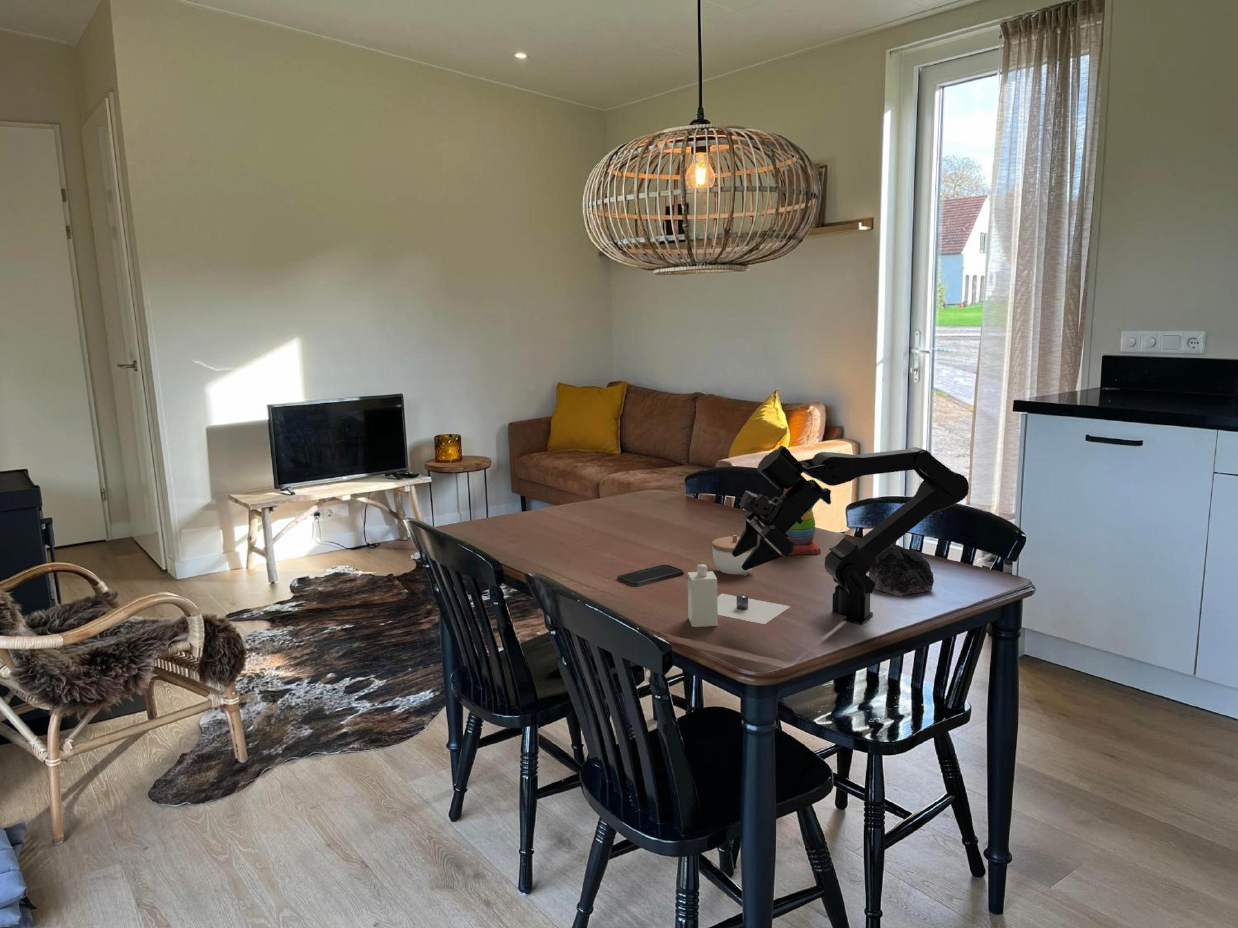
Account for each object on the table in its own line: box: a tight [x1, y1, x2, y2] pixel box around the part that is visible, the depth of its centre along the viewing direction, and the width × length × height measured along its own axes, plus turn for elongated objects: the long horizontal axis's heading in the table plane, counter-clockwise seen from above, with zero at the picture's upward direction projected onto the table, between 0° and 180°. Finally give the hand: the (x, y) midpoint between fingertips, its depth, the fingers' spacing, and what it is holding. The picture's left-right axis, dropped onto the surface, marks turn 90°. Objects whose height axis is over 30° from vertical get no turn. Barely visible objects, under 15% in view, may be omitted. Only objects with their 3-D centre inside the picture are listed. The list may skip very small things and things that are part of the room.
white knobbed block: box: [687, 563, 719, 628], centre depth 170 cm, size 5×5×12 cm
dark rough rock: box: [868, 544, 935, 597], centre depth 191 cm, size 13×14×10 cm
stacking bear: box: [781, 488, 822, 556], centre depth 221 cm, size 11×10×18 cm
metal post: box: [735, 594, 749, 610], centre depth 178 cm, size 2×2×2 cm
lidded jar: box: [711, 534, 756, 576], centre depth 204 cm, size 11×11×9 cm
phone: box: [617, 564, 685, 587], centre depth 204 cm, size 8×1×15 cm
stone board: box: [717, 593, 791, 625], centre depth 178 cm, size 16×12×1 cm
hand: (737, 561), depth 169 cm, fingers open, 9 cm apart
